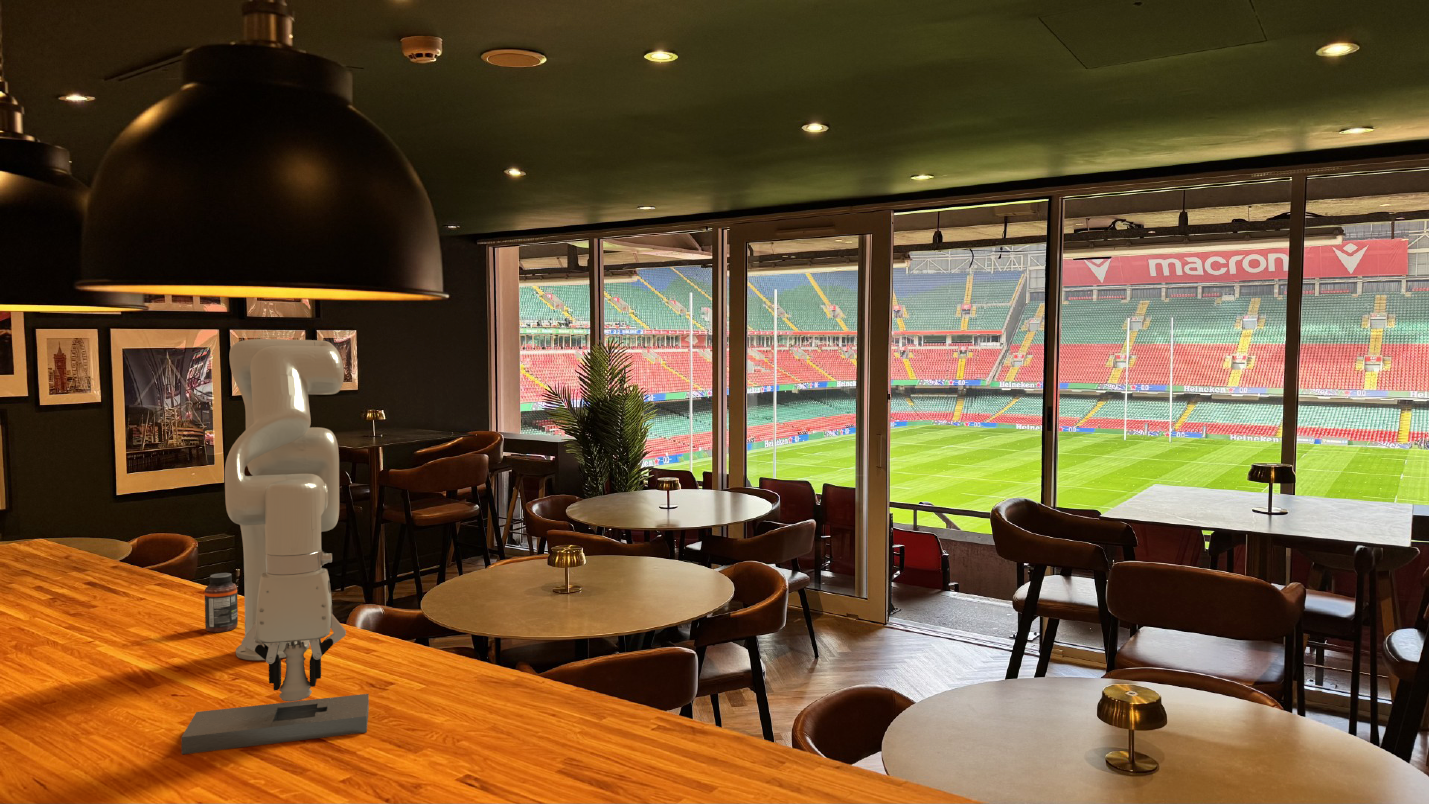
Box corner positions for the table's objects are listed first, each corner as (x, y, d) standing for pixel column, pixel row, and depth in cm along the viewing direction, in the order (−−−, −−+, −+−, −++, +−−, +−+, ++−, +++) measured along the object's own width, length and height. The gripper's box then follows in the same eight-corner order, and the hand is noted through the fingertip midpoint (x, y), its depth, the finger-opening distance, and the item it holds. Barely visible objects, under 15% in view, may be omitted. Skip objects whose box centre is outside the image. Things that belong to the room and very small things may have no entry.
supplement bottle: (208, 626, 190) (208, 572, 189) (240, 624, 192) (239, 570, 191) (202, 634, 184) (201, 578, 184) (234, 631, 186) (233, 576, 185)
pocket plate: (196, 727, 136) (196, 711, 135) (368, 708, 143) (368, 693, 143) (181, 754, 126) (181, 737, 126) (366, 732, 134) (366, 716, 134)
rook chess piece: (318, 693, 137) (317, 640, 136) (297, 703, 132) (296, 649, 132) (293, 690, 138) (293, 638, 138) (272, 700, 134) (271, 646, 133)
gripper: (355, 555, 141) (357, 672, 142) (234, 562, 135) (236, 684, 136) (353, 564, 134) (355, 687, 134) (226, 572, 128) (227, 700, 129)
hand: (295, 684), depth 135 cm, fingers closed on rook chess piece, 4 cm apart
